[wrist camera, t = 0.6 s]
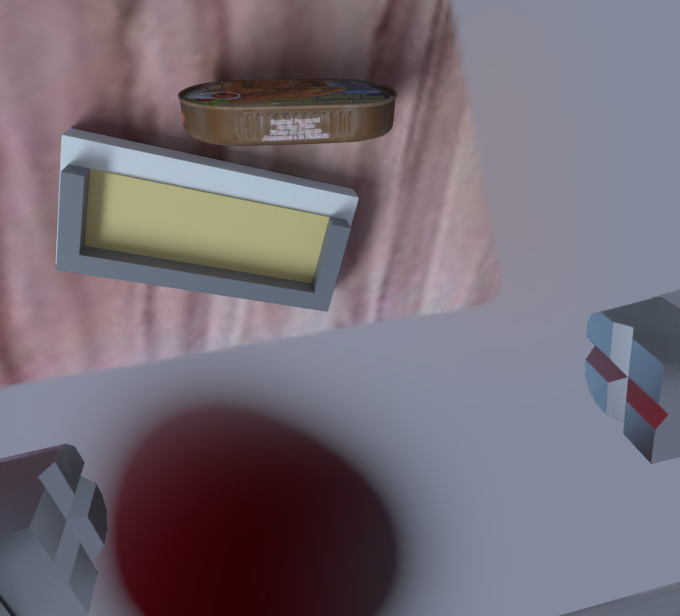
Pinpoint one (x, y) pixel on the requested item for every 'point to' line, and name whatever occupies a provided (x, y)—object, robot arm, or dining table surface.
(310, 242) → the dock
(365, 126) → the tin
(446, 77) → the dining table surface
